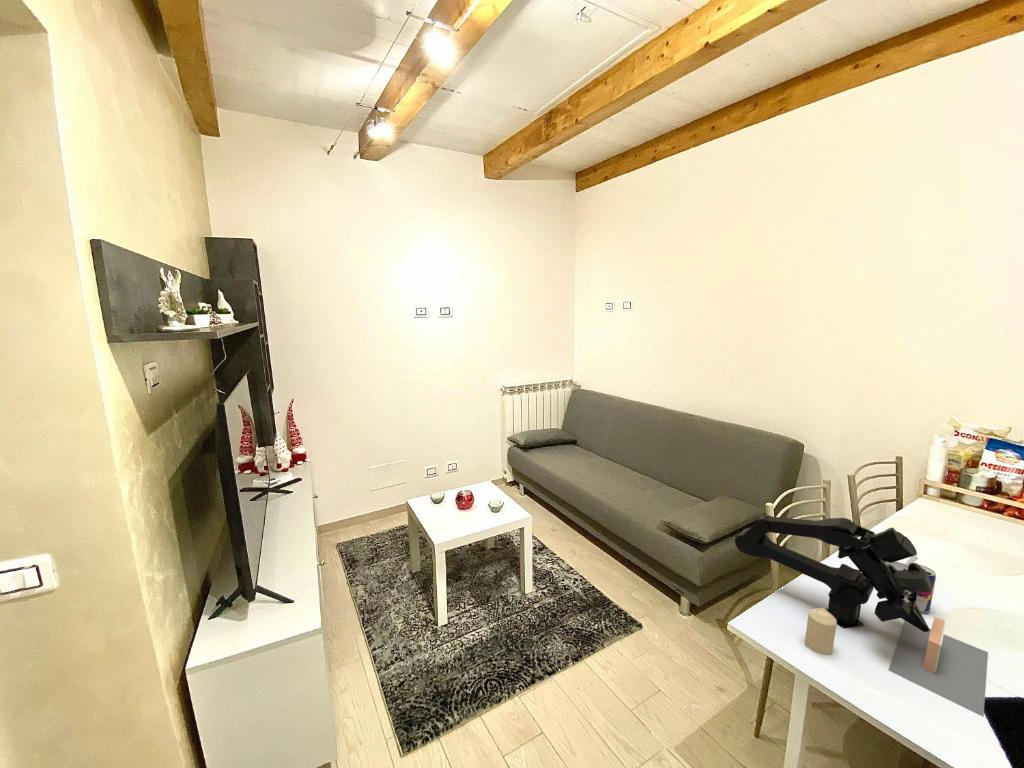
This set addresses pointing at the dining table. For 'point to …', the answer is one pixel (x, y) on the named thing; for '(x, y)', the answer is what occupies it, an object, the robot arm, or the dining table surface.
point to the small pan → (900, 565)
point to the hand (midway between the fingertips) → (927, 631)
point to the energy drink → (925, 598)
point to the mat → (943, 668)
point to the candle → (820, 631)
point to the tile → (934, 645)
